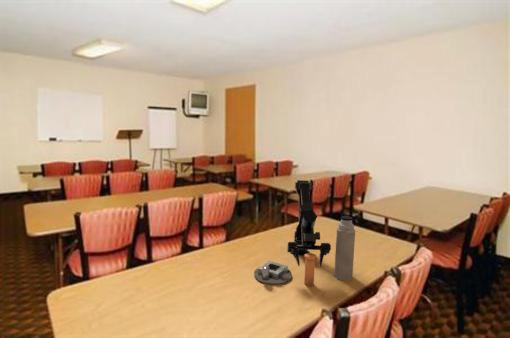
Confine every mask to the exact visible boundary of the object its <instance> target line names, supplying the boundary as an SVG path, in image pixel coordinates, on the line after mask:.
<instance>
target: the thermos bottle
mask: <svg viewBox="0 0 510 338" xmlns="http://www.w3.org/2000/svg"><path fill="white" fill-rule="evenodd" d="M355 241H356V230H355V225H354V223H353V217H351V216H347V215H343V216H341V217H340V222H339V223H338V227H336V238H335V254H334V255H335V258H334V273H333V276H334V277H335V278H336V279H338V280H340V281H345V282H348V281H351V280H352V279H353V274H354V272H353V271H354V258H355V256H354V255H355Z"/></svg>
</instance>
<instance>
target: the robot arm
mask: <svg viewBox="0 0 510 338" xmlns="http://www.w3.org/2000/svg"><path fill="white" fill-rule="evenodd" d="M294 189H295V193H296V194H297V196H298V212H297V213H298V214H297V215H298V224H297V226H296V227H295V231H294V233H293V234H294V235H293V241H289V242H288V243H287V248H286V249H287V250H286V251H287V253H290V254H291V255H293V258H294V259H295V261H296V264H297V266H298V267H300V265H301V264H300V256H305V254H307V253H311V252H310V251H312V250H313V251H319V267H320V268H321V267H322V266H323V265H322V264H323V260H324V256H327V255H328V254H330V252H331V249H332V246H331V243H330V242H321V243H320V245H318V244H317V240H318V241H319V240H321V232H320V231H316V232H315V229H314V228H315V226H316V221H317V219H318V215H317V213H316V211H314V206H313V205H312V204H311V198H310V197H311V196H310V192H311V191H310V190H312V182H310V181H309V180H300V179H299V180H298V179H297V181H295V182H294ZM316 244H317V245H316ZM299 255H300V256H299Z"/></svg>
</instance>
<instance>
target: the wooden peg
mask: <svg viewBox="0 0 510 338" xmlns="http://www.w3.org/2000/svg"><path fill="white" fill-rule="evenodd" d="M304 259H305V260H304V261H305V263H304V283H303V284H304V286H306V287H313V286H315V269H316V268H315V267H316V266H315V264H316V262H315V261H316V259H317V255H316V254H314V253H312V252H310V253H307V254H304Z"/></svg>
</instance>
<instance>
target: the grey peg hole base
mask: <svg viewBox="0 0 510 338" xmlns="http://www.w3.org/2000/svg"><path fill="white" fill-rule="evenodd" d="M288 267H289V266H288V265H287V264H282V263H278V262H274V261H271V260H268V261H266V262H265V263H264V264H262V265H261V266H259V267H257V268H256V269H255V270H254V272H253V275H254V278H255V280H256V281H258V282H259V283H262V284H265V285H270V286H272V285H273V286H275V285H276V286H277V285H284V284H287V283H288V282H290V281H291V279H292V276H293V275H292V272H291V270H290V269H289V268H288Z"/></svg>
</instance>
